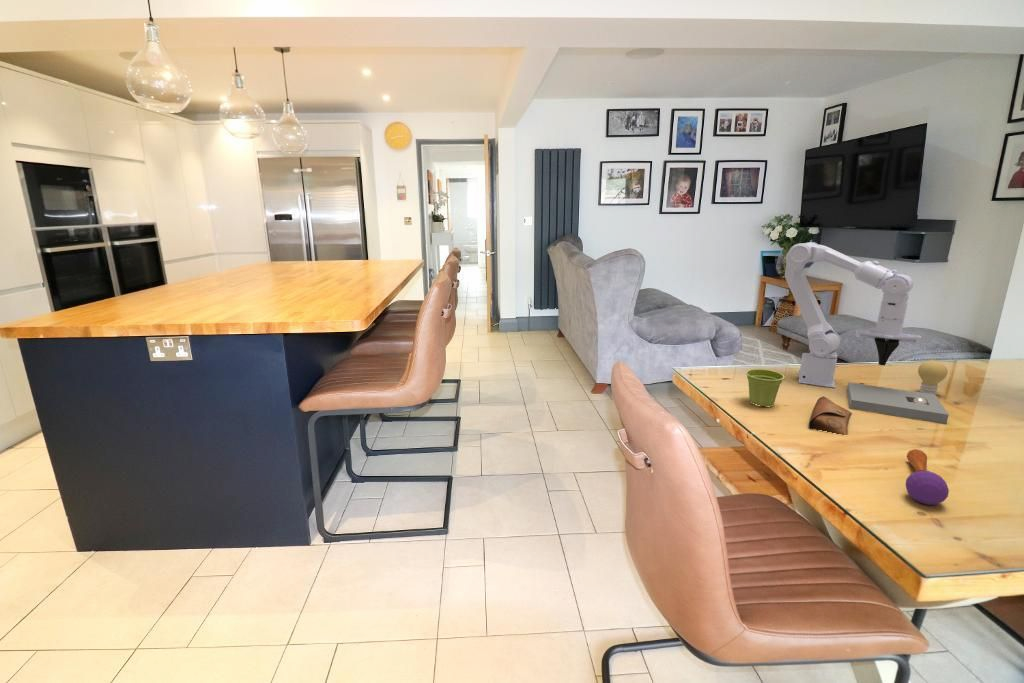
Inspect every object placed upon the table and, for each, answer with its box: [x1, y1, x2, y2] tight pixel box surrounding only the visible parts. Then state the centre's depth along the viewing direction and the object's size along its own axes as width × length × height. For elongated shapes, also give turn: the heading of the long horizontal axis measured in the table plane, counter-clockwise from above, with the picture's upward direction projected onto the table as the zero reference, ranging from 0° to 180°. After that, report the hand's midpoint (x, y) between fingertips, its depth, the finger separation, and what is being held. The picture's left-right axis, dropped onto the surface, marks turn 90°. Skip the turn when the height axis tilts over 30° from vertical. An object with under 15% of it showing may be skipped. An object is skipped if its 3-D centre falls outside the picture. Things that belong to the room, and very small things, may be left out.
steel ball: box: [912, 397, 927, 404], centre depth 129 cm, size 3×3×3 cm
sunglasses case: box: [808, 396, 853, 436], centre depth 123 cm, size 18×7×7 cm, turn 144°
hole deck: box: [846, 382, 949, 425], centre depth 132 cm, size 20×16×2 cm
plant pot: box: [745, 368, 785, 407], centre depth 133 cm, size 9×9×9 cm
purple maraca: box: [905, 448, 950, 506], centre depth 94 cm, size 6×6×20 cm
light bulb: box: [917, 360, 948, 395], centre depth 139 cm, size 6×6×10 cm
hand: (881, 364), depth 138 cm, fingers closed
